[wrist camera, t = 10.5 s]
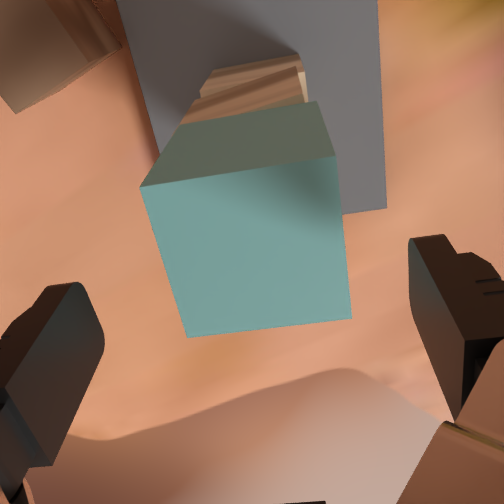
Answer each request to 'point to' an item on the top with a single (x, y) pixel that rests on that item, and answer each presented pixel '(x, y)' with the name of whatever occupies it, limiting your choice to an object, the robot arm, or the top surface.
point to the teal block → (251, 221)
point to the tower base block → (252, 74)
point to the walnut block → (48, 47)
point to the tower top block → (249, 97)
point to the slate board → (263, 48)
